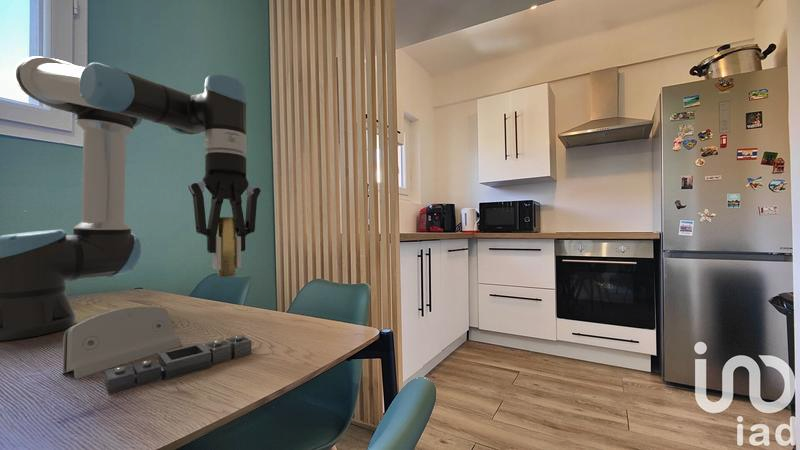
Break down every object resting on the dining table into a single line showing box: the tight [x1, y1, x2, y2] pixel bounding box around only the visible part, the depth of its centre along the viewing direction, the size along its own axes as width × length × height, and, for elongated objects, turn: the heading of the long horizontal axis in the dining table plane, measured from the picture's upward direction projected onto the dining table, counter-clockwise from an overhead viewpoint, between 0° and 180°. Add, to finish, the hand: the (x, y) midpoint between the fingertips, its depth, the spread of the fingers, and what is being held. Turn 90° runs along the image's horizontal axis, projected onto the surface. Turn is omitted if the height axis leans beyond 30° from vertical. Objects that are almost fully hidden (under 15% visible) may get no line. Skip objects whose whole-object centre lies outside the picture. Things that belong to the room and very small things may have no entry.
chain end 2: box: [157, 334, 252, 372], centre depth 59 cm, size 6×14×3 cm, turn 135°
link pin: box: [217, 216, 237, 278], centre depth 68 cm, size 3×3×12 cm
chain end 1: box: [104, 353, 212, 395], centre depth 54 cm, size 6×13×3 cm, turn 136°
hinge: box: [61, 306, 182, 380], centre depth 62 cm, size 17×5×10 cm, turn 153°
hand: (227, 267), depth 68 cm, fingers closed on link pin, 3 cm apart
